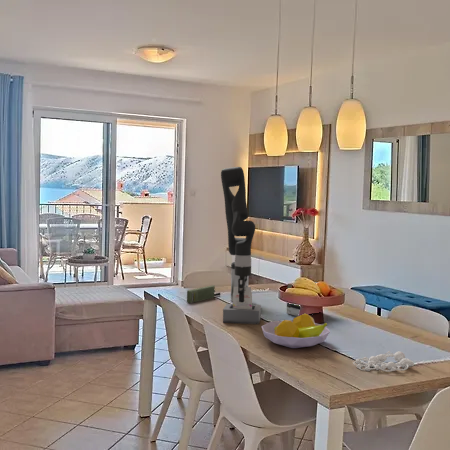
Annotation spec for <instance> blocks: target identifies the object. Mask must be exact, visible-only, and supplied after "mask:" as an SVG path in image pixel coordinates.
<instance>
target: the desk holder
mask: <svg viewBox="0 0 450 450" xmlns="http://www.w3.org/2000/svg"><path fill="white" fill-rule="evenodd" d="M261 315H262V305H261V304H252V309H233V303H226V304H225V306H224V308H223V309H222V323H223V324H225V323H226V324H245V325H260V322H261V318H262V316H261Z"/></svg>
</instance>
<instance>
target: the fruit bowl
mask: <svg viewBox="0 0 450 450" xmlns="http://www.w3.org/2000/svg"><path fill="white" fill-rule="evenodd" d="M327 326H328V323H327V322H325V323H323V324H320V323H316V322H315V319H314V317H312V315H308V314H306V313H304V314H302V315H300V316H295V317H294V318H293V319H292V320H291V319H283V320H279V321H278V320H276V321H269V322H267V323H265V324H264V325H261V329H262V333H263V336H264V338H266V339H268V340H269V341H271V342H272V343H274V344H277V345H280V346H284V347H287V348H290V349H298V348H300V349H301V348H306V347H308V348H309V347H314V346H316V345H319V344H321V343H323V342H325V341H326V340H327V337H328V336H329V334H330V333H331V330H330V329H329V328H328V327H327Z"/></svg>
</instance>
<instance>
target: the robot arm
mask: <svg viewBox="0 0 450 450" xmlns="http://www.w3.org/2000/svg"><path fill="white" fill-rule="evenodd" d="M220 178H221V186H222V191H223V192H222V193H223V197H224V209H225V212H224V213H225V219H226V225H227V242H228V243H227V244H228V253H229V254H230V255H231V256H234V261H233V262H231V264H230V265H231V266H230V268H231V269H230V301H231V302H233V293H234V290H233V288H234V287H238V293H239V302H244V293H245V292H244V291H245V289H246V287H249V277H250V276H251V275H252V243H253V242H252V241H253V239H254V235H255V232H256V224H255V223H254V221H252V220H247V219H248V217H249V209H248V204H247V197H246V196H247V195H246V194H247V193H246V192H247V191H246V177H245V172H244V170H243V168H242V167H241V166H234V167H233V166H232V167H226V168H222V170H221V172H220ZM233 187H234V188H235V187H238V189H237V191H236V193H235V194H233V192H232V191H231V189H230V188H233Z"/></svg>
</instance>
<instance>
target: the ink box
mask: <svg viewBox="0 0 450 450" xmlns="http://www.w3.org/2000/svg"><path fill="white" fill-rule="evenodd" d="M233 290H234V293H233V301H232V304H233V309H252V305H253V291H252V287H251V286H248V287H246V289H245V291H244V292H245V293H244V302H239V293H238V287H234V288H233Z"/></svg>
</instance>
